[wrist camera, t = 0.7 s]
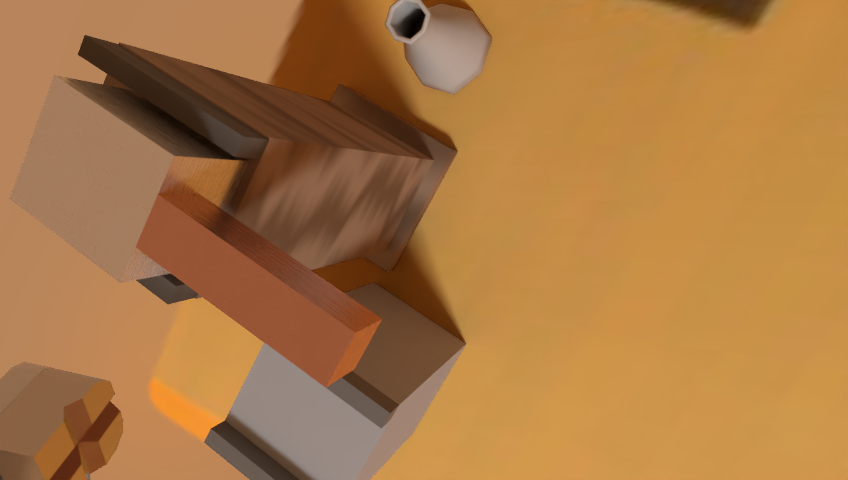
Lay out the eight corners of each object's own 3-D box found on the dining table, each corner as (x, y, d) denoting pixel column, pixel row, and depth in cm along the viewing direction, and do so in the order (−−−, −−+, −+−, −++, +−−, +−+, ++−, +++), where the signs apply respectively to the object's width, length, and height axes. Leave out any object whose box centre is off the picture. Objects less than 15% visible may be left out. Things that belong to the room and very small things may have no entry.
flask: (393, 62, 54) (341, 35, 44) (440, -12, 52) (396, -56, 42) (456, 109, 52) (417, 92, 43) (508, 35, 50) (478, 0, 41)
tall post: (346, 86, 55) (81, -6, 29) (457, 151, 52) (276, 114, 26) (290, 202, 58) (2, 213, 32) (393, 269, 55) (170, 344, 29)
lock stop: (143, 92, 31) (54, 75, 26) (423, 274, 27) (377, 292, 22) (101, 197, 32) (9, 198, 27) (361, 384, 28) (305, 424, 23)
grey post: (374, 282, 56) (264, 321, 40) (466, 344, 54) (390, 413, 37) (326, 370, 58) (203, 442, 42) (412, 433, 56) (318, 535, 39)
